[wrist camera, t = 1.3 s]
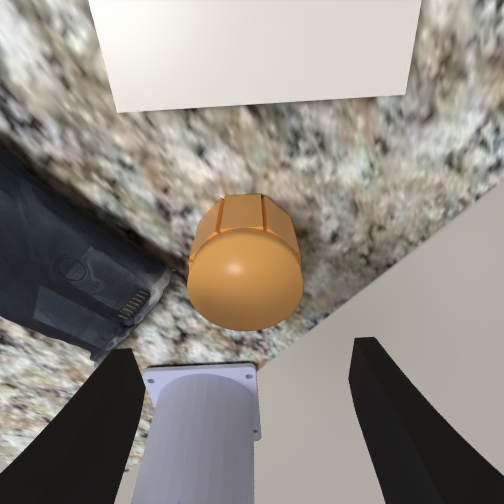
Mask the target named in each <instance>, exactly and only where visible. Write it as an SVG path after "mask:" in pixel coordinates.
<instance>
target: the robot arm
mask: <svg viewBox="0 0 504 504" xmlns="http://www.w3.org/2000/svg"><path fill="white" fill-rule="evenodd" d="M143 378H144V381H145V384H146V386H147V389H148V392H149V395H150V398H151V400H152V403H153V406H154V409H155V410H154V414H153V418H152V422H151V426H150V430H149V434H148V438H147V442H146V446H145V450H144V454H143V458H142V462H141V466H140V470H139V474H138V478H137V482H136V486H135V489H134V493H133V497H132V501H131V504H254V449H253V448H254V446H253V441H258V440H260V439H261V428H260V415H259V403H258V389H257V376H256V367H255V365H254V364H251V363H243V364H221V365H199V366H177V367H155V368H146V369H145V370H144V372H143ZM348 380H349V384H350V389H351V394H352V398H353V403H354V407H355V411H356V414H357V418H358V421H359V424H360V427H361V430H362V433H363V436H364V438H365V442H366V445H367V447H368V451H369V454H370V457H371V460H372V463H373V466H374V469H375V472H376V475H377V478H378V481H379V484H380V487H381V490H382V493H383V496H384V500H385V503H386V504H504V476H503V475H502V474H501V473H500V472H499V471H498V470H497V469H495V468H494V467H493V466H492V465H491V464H490V463H489V462H488V461H487V460H486V459H484V457H482V456H481V455H480V454H479V453H478V452H477V451H476V450H475V449H474V448H473V447H472V446H471V445H470V444H469V443H468V442H467V441H465V439H464V438H463V437H462V436H461V435H460V434H459V433H458V432H456V430H454V428H453V427H452V426H451V425H450V424H449V423H448V422H447V421H446V420H445V419H444V418H443V417H442V416H441V415H440V414H439V413H438V412H437V411H436V409H434V407H433V406H432V405H431V404H430V403H429V402H428V401H427V400H426V398H425V397H424V396H423V395H422V394H421V393H420V392H419V390H418V389H417V388H416V387H415V386H414V385H413V384H412V383H411V381H410V380H409V379H408V378H407V377H406V375H405V374H404V373H403V372H402V371H401V370H400V368H399V367H398V366H397V365H396V363H395V362H394V361H393V360H392V358H391V357H390V356H389V355H388V353H387V352H386V351H385V349H384V348H383V347H382V346H381V344H380V343H379V342H378V340H377V339H376V338H375V337H363V338H355V339H354V346H353V352H352V358H351V365H350V371H349V378H348ZM144 381H143V379H142V376H141V373H140V371H139V368H138V365H137V362H136V360H135V357H134V354H133V352H132V349H131V348H126V349H112V350H111V351H110V353H109V354H108V355H107V356H106V357H105V359H104V360H103V361H102V362H101V363H100V365H99V366H98V367H97V368H96V370H95V371H94V372H93V373H92V374H91V376H90V377H89V378H88V379H87V380H86V382H85V383H84V384H83V385H82V386H81V388H80V389H79V390H78V391H77V392H76V393H75V395H74V396H73V397H72V398H71V399H70V400H69V402H68V403H67V404H66V405H65V406H64V407H63V409H62V410H61V411H60V412H59V413H58V414H57V415H56V417H55V418H54V419H53V420H52V421H51V422H50V423H49V424H48V425H47V426H46V427H45V428H44V430H43V431H42V432H41V433H40V434H39V435H38V436H37V437H36V438H35V439H34V440H33V441H32V442H31V443H30V445H29V446H28V447H27V448H26V449H25V450H24V451H23V452H22V453H21V454H20V455H19V456H18V457H17V458H16V459H15V460H14V461H13V462H12V463H11V464H10V465H9V466H8V467H7V468H6V469H5V470H3V472H1V473H0V504H114V502H115V498H116V495H117V492H118V488H119V485H120V482H121V479H122V476H123V473H124V469H125V466H126V463H127V460H128V457H129V453H130V450H131V447H132V444H133V441H134V437H135V434H136V431H137V427H138V424H139V421H140V416H141V411H142V406H143V401H144V395H145V389H146V387H145V384H144Z"/></svg>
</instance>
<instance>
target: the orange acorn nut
mask: <svg viewBox="0 0 504 504" xmlns="http://www.w3.org/2000/svg"><path fill="white" fill-rule="evenodd" d="M188 264H189V269H190V272H189V276H188V281H187V289H188V294H189V298H190V300H191V302H192V304H193V306H194V307H195V309H196V310H197V311H198V312H199V313H200V314H201V315H202V316H203V317H204V318H205V319H207V320H208V321H210V322H211V323H213V324H215V325H218V326H220V327H223V328H226V329H230V330H235V331H256V330H261V329H265V328H268V327H271V326H274V325H276V324H278V323H280V322H281V321H283V320H284V319H286V318H287V317H288V316H289V315H290V314H291V313H292V312H293V311H294V310H295V309H296V307H297V306H298V304H299V302H300V300H301V297H302V294H303V287H304V286H303V278H302V273H301V255H300V251H299V247H298V243H297V239H296V234H295V230H294V226H293V222H292V220H291V217H290V216H289V215H288V214H287V213H285V212H284V211H283V210H282V209H281V208H280V207H278V206H277V205H276V204H275V203H274V202H272V201H271V200H270V199H269V198H268V197H267V196H264V197H263V198H262V199H261V194H249V195H232V196H225V200H223V199H222V198H220V199H219V200H218V202H217V203H216V204H215V205H214V206H213V207H212V208H211V209H210V210H209V211H208V213H207V214H206V215H205V216H204V217H203V218H202V219H201V220H200V221H199V225H198V228H197V232H196V236H195V239H194V243H193V247H192V250H191V254H190V258H189V261H188Z"/></svg>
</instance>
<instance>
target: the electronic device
mask: <svg viewBox="0 0 504 504" xmlns="http://www.w3.org/2000/svg"><path fill="white" fill-rule="evenodd" d="M174 271H175V269H172V268H170V267H169V266H167V265H165V264H164V263H163V262H162V261H161V260H160V259H158V258H156V257H155V256H153V255H151V254H150V253H148V252H147V251H145V250H144V249H142V248H140V247H139V246H137V245H136V244H134V243H133V242H132V241H130V240H129V239H127V238H126V237H124V236H123V235H121V234H120V233H118V232H117V231H116V230H114V229H112V228H110V227H109V226H108V225H107V224H105V223H104V222H102V221H100V220H99V219H98V218H96V217H95V216H94V215H92V214H91V213H90V212H88V211H87V210H85V209H83V208H81V207H79V206H77V205H76V204H74V203H73V202H72V201H71V200H70V199H69V198H67V197H65V196H64V195H62V194H61V193H59V192H57V191H56V190H55V189H53V188H51V187H49V186H47V185H46V184H45V183H44V182H42V181H41V180H40V179H38V178H37V177H36V176H34V175H33V174H31V173H29V172H28V171H27V170H26V169H25V168H24V167H23V165H22V164H21V163H20V162H19V161H18V160H17V159H16V158H15V157H14V156H12V155H11V154H10V153H9V152H8V151H7V150H6V149H5V148H4V147H3V146H2V145H0V316H1V317H3V318H5V319H7V320H9V321H12V322H14V323H17V324H19V325H21V326H23V327H26V328H29V329H31V330H34V331H36V332H39V333H41V334H43V335H45V336H47V337H50V338H54V339H59V340H62V341H64V342H67V343H69V344H72V345H76V346H79V347H81V348H83V349H86V350H88V351H90V352H91V356H90V360H92V361H94V362H95V363H94V367H95V368H97V367H98V366H99V365H100V363H101V362H102V361H103V360H104V359H105V357H106V356H107V355H108V354H109V353H110V351H111V350H112V349H117V348H118V346H119V345H120V344H121V343H122V342H123V341H124V340H125V339H126V338H127V337H128V336H129V335H130V334H131V332H132V331H133V330H134V329H135V328H136V327H137V326H138V325H139V324H140V323H141V322H142V321H143V319H144V318H145V317H146V316H147V315H148V314H149V312H150V311H151V310H152V309H153V307H154V306H155V305H156V304H157V302H158V301H159V299H160V298H161V296H162V294H163V289H164V288H165V287H166V286H167V285H168V284H169V282H170V278H171V275H172V272H174Z"/></svg>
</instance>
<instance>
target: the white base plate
mask: <svg viewBox="0 0 504 504" xmlns="http://www.w3.org/2000/svg"><path fill="white" fill-rule="evenodd" d="M89 4H90V8H91V12H92V16H93V20H94V24H95V27H96V31H97V35H98V39H99V43H100V47H101V51H102V55H103V59H104V63H105V67H106V70H107V74H108V78H109V82H110V86H111V90H112V94H113V98H114V102H115V106H116V109H117V113H121V112H137V111H153V110H169V109H185V108H201V107H217V106H233V105H249V104H265V103H280V102H296V101H312V100H328V99H344V98H360V97H376V96H392V95H405V93H406V87H407V81H408V75H409V70H410V64H411V58H412V52H413V46H414V41H415V35H416V29H417V23H418V18H419V12H420V6H421V0H89Z"/></svg>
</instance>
